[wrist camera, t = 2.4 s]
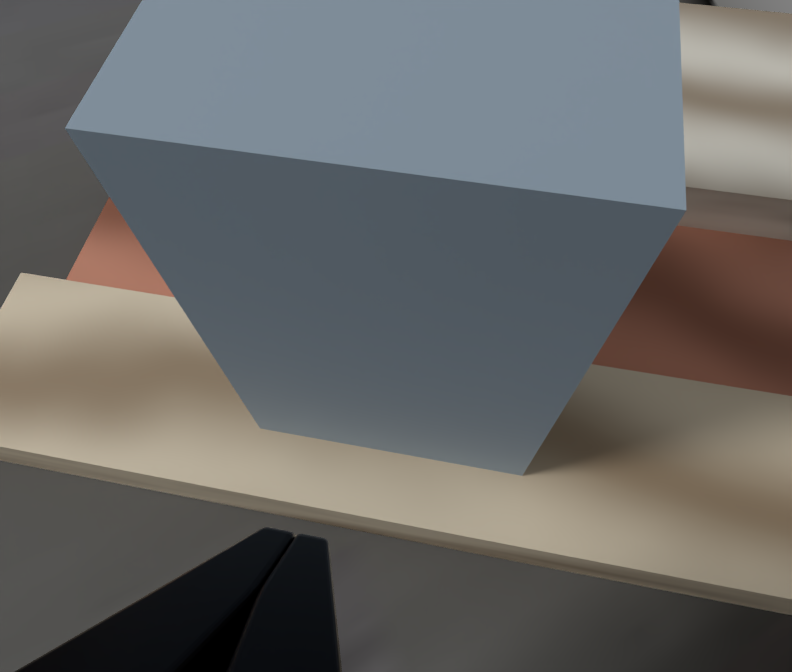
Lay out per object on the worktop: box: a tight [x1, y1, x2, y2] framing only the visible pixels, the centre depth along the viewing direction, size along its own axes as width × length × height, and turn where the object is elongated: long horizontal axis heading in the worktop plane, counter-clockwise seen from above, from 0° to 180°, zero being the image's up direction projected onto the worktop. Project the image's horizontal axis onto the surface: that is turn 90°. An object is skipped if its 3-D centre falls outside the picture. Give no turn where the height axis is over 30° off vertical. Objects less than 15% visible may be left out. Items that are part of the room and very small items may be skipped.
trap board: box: [0, 3, 792, 615], centre depth 24 cm, size 25×28×2 cm
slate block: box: [65, 0, 686, 476], centre depth 15 cm, size 8×8×12 cm
